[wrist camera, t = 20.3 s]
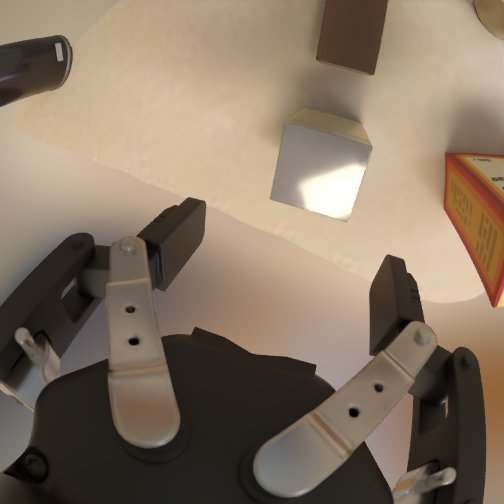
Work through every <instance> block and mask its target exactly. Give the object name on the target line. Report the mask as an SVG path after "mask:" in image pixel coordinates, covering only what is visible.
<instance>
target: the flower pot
mask: <svg viewBox="0 0 504 504" xmlns="http://www.w3.org/2000/svg"><path fill="white" fill-rule="evenodd" d="M474 5H475V8H476V11H477V14H478V17H479V19H480V20H481V22H482V23H483V25H484V26H485V27H486V28H487V29H488V30H489V31H490V32H491V33H492V34H493V35H495V36H496V37H498V38H500V39H502V40H504V0H474Z"/></svg>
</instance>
